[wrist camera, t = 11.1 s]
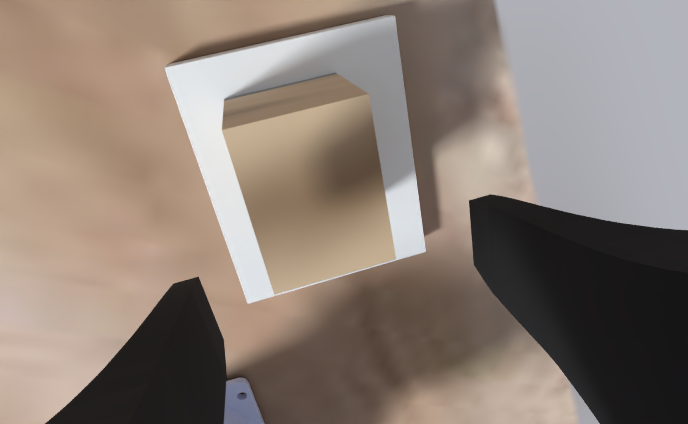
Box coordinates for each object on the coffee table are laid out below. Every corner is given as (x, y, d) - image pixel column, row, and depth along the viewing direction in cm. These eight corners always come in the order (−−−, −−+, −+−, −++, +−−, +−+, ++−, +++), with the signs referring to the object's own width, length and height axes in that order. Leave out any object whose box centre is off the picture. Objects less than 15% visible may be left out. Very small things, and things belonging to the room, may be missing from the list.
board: (417, 240, 24) (425, 251, 23) (247, 289, 23) (247, 303, 22) (385, 15, 19) (394, 15, 18) (168, 63, 18) (164, 67, 17)
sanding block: (361, 205, 21) (396, 259, 17) (264, 231, 20) (274, 294, 16) (335, 72, 18) (368, 94, 14) (223, 99, 18) (221, 129, 13)
